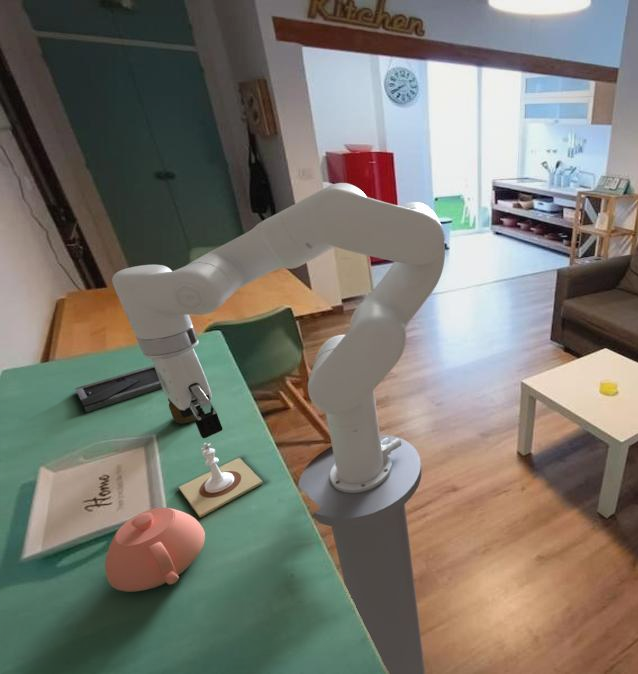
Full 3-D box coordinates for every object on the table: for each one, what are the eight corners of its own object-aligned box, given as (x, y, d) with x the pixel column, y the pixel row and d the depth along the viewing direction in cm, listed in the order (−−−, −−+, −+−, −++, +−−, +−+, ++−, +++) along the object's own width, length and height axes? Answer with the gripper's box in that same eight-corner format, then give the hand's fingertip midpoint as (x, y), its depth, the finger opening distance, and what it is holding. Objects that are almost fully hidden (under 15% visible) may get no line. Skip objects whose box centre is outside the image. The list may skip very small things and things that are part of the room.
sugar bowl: (195, 520, 76) (177, 477, 71) (224, 566, 68) (206, 520, 63) (106, 567, 67) (79, 522, 63) (127, 626, 59) (99, 579, 55)
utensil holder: (209, 409, 106) (194, 368, 101) (193, 425, 100) (177, 382, 95) (184, 410, 106) (169, 369, 101) (168, 425, 100) (150, 382, 95)
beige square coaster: (239, 459, 90) (238, 456, 90) (263, 483, 84) (262, 480, 84) (179, 489, 82) (178, 486, 82) (200, 517, 76) (199, 515, 76)
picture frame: (86, 412, 104) (173, 384, 117) (83, 405, 103) (171, 377, 116) (77, 393, 112) (160, 368, 124) (74, 386, 111) (157, 362, 123)
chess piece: (240, 479, 84) (226, 439, 80) (215, 496, 80) (199, 455, 76) (224, 471, 86) (210, 432, 81) (199, 487, 82) (183, 447, 77)
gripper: (126, 334, 71) (162, 416, 79) (157, 364, 62) (195, 454, 69) (178, 320, 77) (207, 398, 84) (214, 346, 67) (244, 431, 75)
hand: (202, 423), depth 77 cm, fingers open, 9 cm apart
